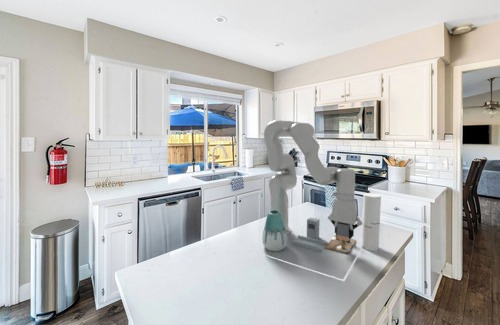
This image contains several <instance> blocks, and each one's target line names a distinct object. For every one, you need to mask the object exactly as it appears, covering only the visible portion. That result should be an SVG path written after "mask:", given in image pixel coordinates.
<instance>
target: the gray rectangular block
mask: <svg viewBox="0 0 500 325" xmlns="http://www.w3.org/2000/svg"><path fill="white" fill-rule="evenodd" d="M306 237H309V238H313V239H317V240H319V238H320V218H314V217H309V218H307V219H306Z"/></svg>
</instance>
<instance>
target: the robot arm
mask: <svg viewBox="0 0 500 325" xmlns="http://www.w3.org/2000/svg"><path fill="white" fill-rule="evenodd" d="M314 135H315V128H314V126H313V125H312V124H310V123H308V122H300V121H299V122H298V121H291V120H277V119H276V120H273V121H270V122H268V124H266V126H265V128H264V132H263V138H264V143H265V148H266V154H267V161H268V167H269V169H270V171H271V172H274V173H278V172H280V173H278V174H275V175H273V176H271V177H270V179H269V180H268V188H269V194H270V195H269V196H270V211H271V210H278V211H279V212H280V213H281V215H282V217H283V221H284V225H285V228H286V233H287V235H289V234H291V233H292V229H291V228H290V227H289V197H288V193H287V191H289V190H293V189H294V188H295V187H296V185H297V183H298V182H297V179H298V177H297V171H296V170H297V169H296V163H295V159H294V158H293V156H292V155H291V154H290V153H287V152H285V153H284V149H283V144H282V142H281V140H280V138H281V137H282V138H284V137H285V138H287V137H289V138H290V137H291V138H292V140H293V141H294V142H295V144H296V145H297V147H298V149H299V150H300V152H302V154H303V156H304V164H305V166H306V170H307V171H308V173H309V174H310V176H311V177H312V179H313V180H314V181H315V183H317V185H320V186H328V185H330V184H334V183H336V188H335V189H336V190H335V192H332V196H334V197H335V198H334V199H333V201H332V207H331V208H332V210H331V213H330V214H329V215H328V216H327V219H328V220H329V221H330V223H332V225H333V227H334V234H335V235H336V236H337V223H338V222H341V223H346V224H349V226H350V230H349V239H353V238H352V237H354V234H355V232H354V230H355V229H357V228H359V227H360V226H362V220H361V219H360V217H359V216H358V207H357V206H358V205H357V200H356V199H355V192H356V191H355V189H356V171H355V170H354V169H352V168H345V167H344V168H340V167H337V166H328V167H325V165H324V164H323V163H322V160H320V157H319V150H320V148H321V146H320V144H319V143H318V141H317V140H316V139H315V137H314Z"/></svg>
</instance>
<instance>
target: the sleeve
mask: <svg viewBox="0 0 500 325" xmlns="http://www.w3.org/2000/svg"><path fill="white" fill-rule="evenodd" d="M349 230H350V226H349V224H346V223H341V222H338V223H337V239H340V240H344V241H349V240H350V239H349Z"/></svg>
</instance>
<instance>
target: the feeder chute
mask: <svg viewBox="0 0 500 325" xmlns="http://www.w3.org/2000/svg"><path fill="white" fill-rule="evenodd" d="M291 244H293V245H295V246H299V247H303V248H306V249H309V250H314V251H318V252H322V251H323V250H324V249H325V246H326V245H327V244H328V241H324V240H321V239H313V238H309V237H307V236H305V235H300V234H298V235H297V239H296V240H294V239H293V240H291Z"/></svg>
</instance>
